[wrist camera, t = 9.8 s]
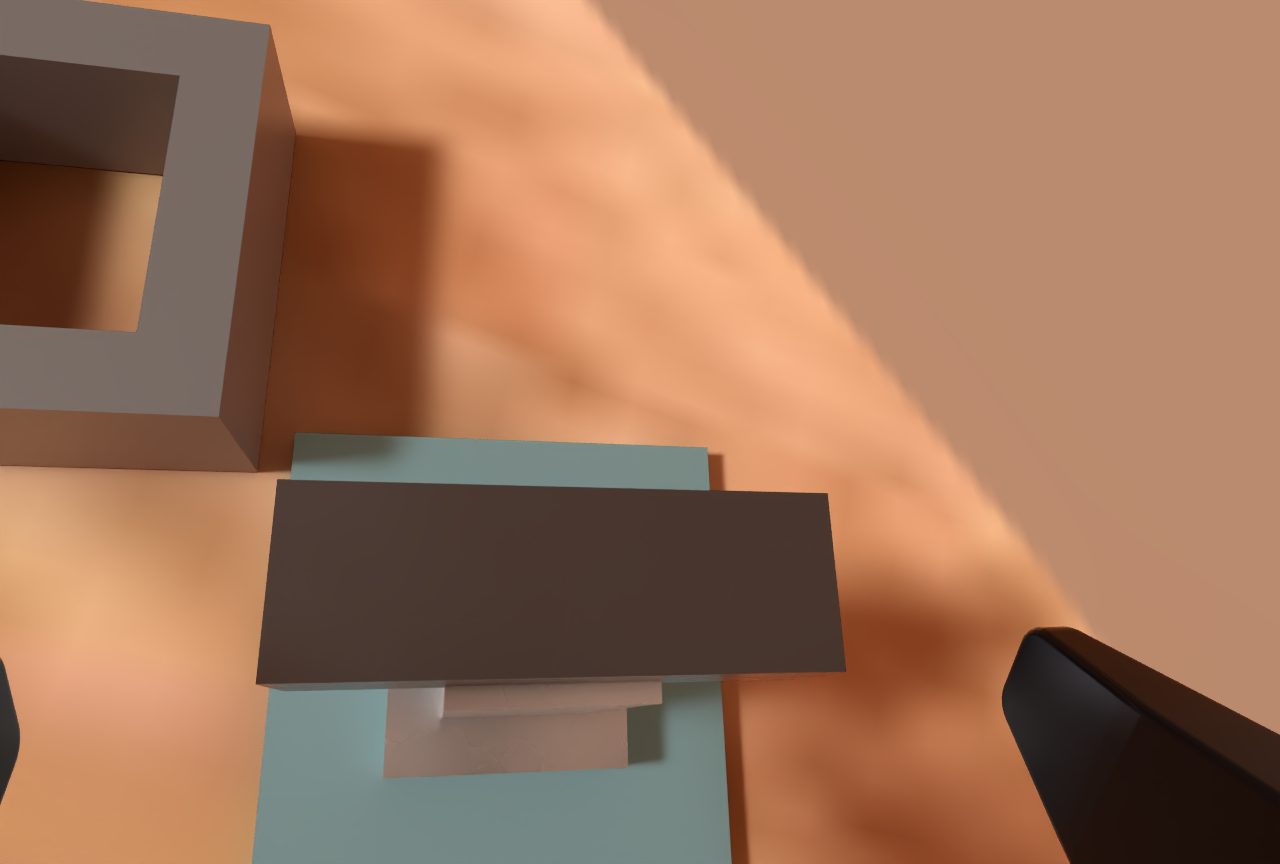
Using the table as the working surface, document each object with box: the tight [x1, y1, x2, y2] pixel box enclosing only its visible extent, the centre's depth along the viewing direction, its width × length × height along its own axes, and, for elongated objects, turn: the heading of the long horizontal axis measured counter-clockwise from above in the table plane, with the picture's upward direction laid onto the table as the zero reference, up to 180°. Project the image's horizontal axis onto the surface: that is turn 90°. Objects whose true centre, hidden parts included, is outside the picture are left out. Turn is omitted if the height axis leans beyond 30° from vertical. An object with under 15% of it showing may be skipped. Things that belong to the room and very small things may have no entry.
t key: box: [256, 479, 846, 779], centre depth 13 cm, size 4×6×9 cm
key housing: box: [0, 0, 296, 472], centre depth 17 cm, size 8×8×4 cm
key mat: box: [252, 432, 732, 864], centre depth 18 cm, size 9×9×1 cm
